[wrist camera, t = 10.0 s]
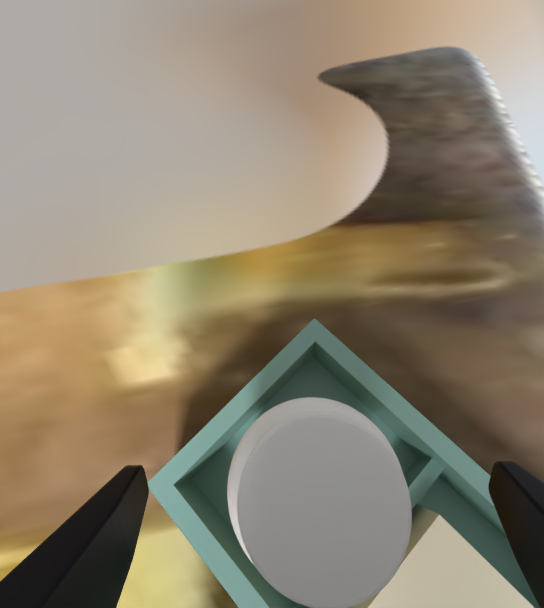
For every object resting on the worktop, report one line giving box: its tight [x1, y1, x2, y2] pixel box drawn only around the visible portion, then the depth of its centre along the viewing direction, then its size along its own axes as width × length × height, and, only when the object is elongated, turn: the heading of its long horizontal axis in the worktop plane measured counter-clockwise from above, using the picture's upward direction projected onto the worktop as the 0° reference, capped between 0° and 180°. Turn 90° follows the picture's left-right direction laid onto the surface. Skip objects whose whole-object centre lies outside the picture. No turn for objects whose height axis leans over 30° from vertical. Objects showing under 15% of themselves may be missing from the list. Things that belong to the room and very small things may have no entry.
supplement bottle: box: [227, 397, 412, 608], centre depth 13 cm, size 5×5×10 cm
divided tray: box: [148, 318, 540, 608], centre depth 15 cm, size 16×10×4 cm, turn 45°
